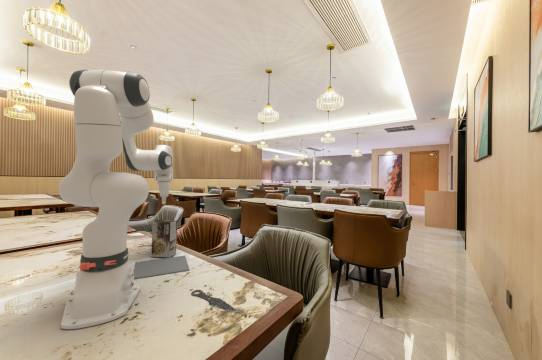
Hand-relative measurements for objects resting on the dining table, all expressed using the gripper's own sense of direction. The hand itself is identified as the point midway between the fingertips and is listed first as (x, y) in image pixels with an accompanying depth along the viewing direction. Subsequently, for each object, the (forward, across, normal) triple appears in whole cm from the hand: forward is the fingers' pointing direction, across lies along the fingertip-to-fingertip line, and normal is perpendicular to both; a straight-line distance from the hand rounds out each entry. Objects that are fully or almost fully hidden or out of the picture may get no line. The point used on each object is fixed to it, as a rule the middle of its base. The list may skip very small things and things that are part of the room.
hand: (163, 203), depth 117 cm
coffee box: (+23, +12, 0) cm, 26 cm away
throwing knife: (+23, +60, +13) cm, 66 cm away
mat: (+23, +25, -1) cm, 34 cm away
